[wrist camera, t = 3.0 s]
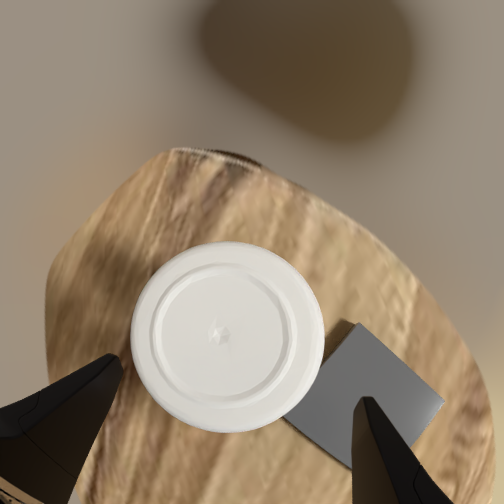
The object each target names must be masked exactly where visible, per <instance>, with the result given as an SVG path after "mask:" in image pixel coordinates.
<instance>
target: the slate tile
mask: <svg viewBox="0 0 504 504" xmlns="http://www.w3.org/2000/svg"><path fill="white" fill-rule="evenodd" d="M362 396H372V397H374V399H375V400H376V401H377V403H378V404H379V406H380V407H381V408H382V410H383V411H384V413H385V414H386V415H387V417H388V418H389V420H390V421H391V422H392V424H393V425H394V427H395V428H396V429H397V431H398V432H399V434H400V435H401V436H402V438H403V439H404V441H405V442H406V444H407V445H408V446H409V448H410V447H411V446H412V445H413V444H414V442H415V441H416V440H417V439H418V437H419V436H420V435H421V434H422V432H423V431H424V430H425V428H426V427H427V426H428V425H429V423H430V422H431V420H432V419H433V418H434V416H435V415H436V414H437V412H438V411H439V409H440V408H441V406H442V405H443V403H444V402H445V400H444V399H443V398H441V397H440V396H439V395H438V394H437V393H436V392H435V391H434V390H433V389H432V388H431V387H430V386H429V385H428V384H426V383H425V382H424V381H423V380H422V379H421V378H420V377H419V376H418V375H417V374H416V373H415V372H414V371H412V370H411V369H410V368H409V367H408V366H407V365H406V364H405V363H404V362H403V361H402V360H400V359H399V358H398V357H397V356H396V355H395V354H394V353H393V352H392V351H391V350H389V349H388V348H387V347H386V346H385V345H384V344H383V343H382V342H381V341H380V340H378V339H377V338H376V337H375V336H374V335H373V334H372V333H371V332H369V331H368V330H367V329H366V328H365V327H364V326H363V325H362V324H361V323H357V324H355V325H354V326H353V327H352V329H351V330H350V331H349V332H348V333H347V335H346V336H345V337H344V338H343V339H342V341H341V342H340V343H339V344H338V345H337V346H336V348H335V349H334V350H333V351H332V352H331V353H330V355H329V356H328V357H327V358H326V359H325V360H324V361H323V362H322V363H321V365H320V368H319V371H318V373H317V376H316V378H315V380H314V382H313V384H312V386H311V387H310V389H309V390H308V392H307V393H306V394H305V396H304V397H303V398H302V399H301V401H300V402H299V403H298V404H297V405H296V406H295V407H294V408H292V409H291V410H290V411H289V412H288V413H286V414H285V415H283V417H284V418H286V419H287V420H288V421H289V422H290V423H292V424H293V425H294V426H295V427H296V428H298V429H299V430H300V431H301V432H303V433H304V434H305V435H306V436H308V437H309V438H310V439H311V440H313V441H314V442H315V443H317V444H318V445H319V446H321V447H322V448H323V449H325V450H326V451H327V452H329V453H330V454H331V455H333V456H334V457H335V458H337V459H338V460H340V461H341V462H342V463H344V464H345V465H347V466H348V467H349V468H351V469H352V460H351V443H352V427H353V411H354V408H355V407H356V405H357V403H358V401H359V400H360V398H361V397H362Z"/></svg>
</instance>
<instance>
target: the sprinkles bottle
mask: <svg viewBox="0 0 504 504" xmlns="http://www.w3.org/2000/svg"><path fill="white" fill-rule="evenodd" d="M130 341H131V351H132V357H133V361H134V364H135V367H136V370H137V372H138V375H139V377H140V379H141V381H142V383H143V385H144V386H145V388H146V389H147V391H148V392H149V393H150V395H151V396H152V397H153V399H154V400H155V401H156V402H157V403H158V404H159V405H160V406H161V407H162V408H163V409H165V410H166V411H167V412H168V413H170V414H171V415H172V416H174V417H176V418H177V419H179V420H180V421H182V422H185V423H186V424H188V425H191V426H194V427H197V428H200V429H203V430H207V431H212V432H222V433H232V432H243V431H249V430H253V429H257V428H260V427H263V426H265V425H267V424H269V423H271V422H274V421H275V420H277V419H279V418H280V417H282V416H283V415H285V414H286V413H288V412H289V411H290V410H291V409H292V408H294V407H295V406H296V405H297V404H298V403H299V402H300V401H301V399H302V398H303V397H304V396H305V394H306V393H307V392H308V390H309V389H310V387H311V386H312V384H313V382H314V380H315V378H316V376H317V373H318V371H319V368H320V365H321V361H322V357H323V352H324V342H325V340H324V325H323V318H322V314H321V311H320V307H319V304H318V302H317V300H316V298H315V296H314V294H313V291H312V290H311V288H310V287H309V285H308V284H307V282H306V281H305V279H304V278H303V277H302V276H301V275H300V273H299V272H298V271H297V270H296V269H295V268H294V267H293V266H291V265H290V264H289V263H288V262H287V261H285V260H284V259H282V258H281V257H279V256H277V255H276V254H274V253H272V252H271V251H269V250H266V249H264V248H261V247H258V246H256V245H252V244H247V243H241V242H232V241H222V242H212V243H206V244H203V245H199V246H195V247H192V248H190V249H188V250H186V251H184V252H182V253H180V254H178V255H176V256H175V257H173V258H172V259H170V260H169V261H167V262H166V263H165V264H164V265H163V266H161V267H160V268H159V269H158V270H157V271H156V272H155V274H154V275H153V276H152V277H151V278H150V280H149V281H148V282H147V284H146V285H145V287H144V288H143V290H142V292H141V294H140V296H139V298H138V301H137V303H136V306H135V309H134V313H133V317H132V322H131V333H130Z"/></svg>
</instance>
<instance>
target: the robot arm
mask: <svg viewBox="0 0 504 504" xmlns="http://www.w3.org/2000/svg"><path fill="white" fill-rule="evenodd" d="M122 376H123V368H122V365H121V362H120V360H119V357H118V356H116V355H114V354H111V353H108V354H106V355H104V356H102V357H100V358H98V359H97V360H95V361H93V362H91V363H89V364H88V365H86V366H84V367H82V368H80V369H79V370H77V371H75V372H73V373H71V374H70V375H68V376H66V377H64V378H62V379H60V380H59V381H57V382H55V383H53V384H51V385H49V386H47V387H46V388H44V389H42V390H41V391H38V392H36V393H35V394H32V395H30V396H28V397H26V398H24V399H22V400H20V401H17V402H15V403H12V404H10V405H7V406H5V407H2V408H0V504H43V503H44V504H68V501H69V499H70V496H71V494H72V491H73V489H74V486H75V484H76V482H77V479H78V476H79V474H80V472H81V470H82V467H83V465H84V463H85V460H86V458H87V456H88V454H89V452H90V449H91V447H92V445H93V443H94V441H95V439H96V436H97V434H98V432H99V430H100V428H101V426H102V424H103V422H104V420H105V418H106V416H107V413H108V411H109V409H110V407H111V405H112V403H113V400H114V397H115V394H116V392H117V389H118V386H119V384H120V381H121V378H122ZM351 460H352V504H454V503H453V502H452V501H451V500H450V499H449V498H448V497H447V496H446V495H445V494H444V493H443V491H442V490H441V489H440V488H439V487H438V486H437V485H436V483H435V482H434V481H433V480H432V479H431V477H430V476H429V475H428V473H427V472H426V470H425V469H424V468H423V466H422V465H420V462H419V461H418V459H417V458H416V456H415V455H414V453H413V452H412V451H411V449H410V448H409V446H408V445H407V444H406V442H405V441H404V439H403V438H402V436H401V435H400V434H399V432H398V431H397V429H396V428H395V427H394V425H393V424H392V422H391V421H390V420H389V418H388V417H387V415H386V414H385V413H384V411H383V410H382V408H381V407H380V406H379V404H378V403H377V401H376V400H375V399H374V397H372V396H362V397H361V398H360V400H359V401H358V403H357V405H356V407H355V408H354V411H353V427H352V443H351Z"/></svg>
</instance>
